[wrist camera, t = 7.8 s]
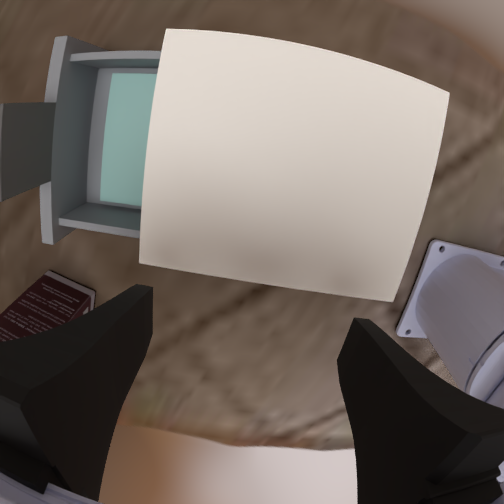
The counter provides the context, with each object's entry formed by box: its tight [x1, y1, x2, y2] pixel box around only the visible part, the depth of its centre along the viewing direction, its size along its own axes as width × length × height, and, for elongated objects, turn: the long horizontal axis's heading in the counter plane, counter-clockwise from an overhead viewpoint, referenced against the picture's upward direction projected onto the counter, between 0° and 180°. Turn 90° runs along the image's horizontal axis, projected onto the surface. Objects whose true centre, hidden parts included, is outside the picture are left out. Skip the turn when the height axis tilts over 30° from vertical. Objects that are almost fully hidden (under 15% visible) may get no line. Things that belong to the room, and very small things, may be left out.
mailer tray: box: [0, 36, 161, 245], centre depth 14 cm, size 13×11×9 cm
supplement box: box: [0, 271, 95, 342], centre depth 16 cm, size 9×5×16 cm, turn 159°
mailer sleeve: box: [139, 29, 450, 302], centre depth 16 cm, size 13×11×6 cm
